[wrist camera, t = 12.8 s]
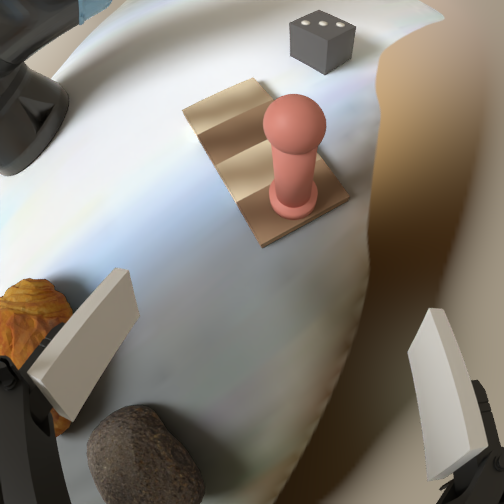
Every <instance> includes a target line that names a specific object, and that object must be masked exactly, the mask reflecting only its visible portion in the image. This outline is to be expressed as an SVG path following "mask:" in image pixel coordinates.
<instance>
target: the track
mask: <svg viewBox="0 0 504 504" xmlns="http://www.w3.org/2000/svg"><path fill="white" fill-rule="evenodd" d="M273 101H274V100H273V98H272V97H271V96H270V95H269V94H268V93H267V92H266V91H265V90H264V88H263V87H262V86H261V85H260V84H259V83H258V82H257V81H256V80H255V79H254V78H251V79H248V80H246V81H244V82H241V83H239V84H236V85H234V86H232V87H230V88H227V89H225V90H223V91H221V92H218V93H216V94H214V95H212V96H210V97H208V98H206V99H204V100H201V101H199V102H197V103H195V104H193V105H191V106H189V107H187V108H185V109H183V110H182V111H183V113H184V116H185V117H186V119H187V121H188V122H189V124H190V126H191V127H192V129H193V131H194V133H195V134H196V136H197V138H198V139H199V141H200V143H201V144H202V146H203V148H204V150H205V151H206V153H207V155H208V156H209V158H210V160H211V161H212V163H213V165H214V167H215V168H216V170H217V172H218V173H219V175H220V177H221V179H222V180H223V182H224V184H225V185H226V187H227V189H228V191H229V192H230V194H231V196H232V197H233V199H234V201H235V203H236V204H237V206H238V208H239V210H240V211H241V213H242V215H243V216H244V218H245V220H246V222H247V223H248V225H249V227H250V229H251V230H252V232H253V234H254V236H255V237H256V239H257V241H258V242H259V244H260V246H261V248H263V247H265V246H267V245H269V244H270V243H272V242H274V241H276V240H278V239H280V238H281V237H283V236H285V235H287V234H289V233H290V232H292V231H294V230H296V229H298V228H300V227H301V226H303V225H305V224H307V223H309V222H310V221H312V220H314V219H316V218H318V217H319V216H321V215H323V214H325V213H327V212H329V211H330V210H332V209H334V208H336V207H338V206H339V205H341V204H343V203H345V202H347V201H348V199H349V197H350V196H349V194H348V193H347V192H346V190H345V189H344V187H343V186H342V185H341V183H340V182H339V180H338V179H337V178H336V176H335V175H334V174H333V172H332V171H331V170H330V168H329V167H328V166H327V164H326V163H325V162H324V160H323V159H322V158H321V156H320V155H319V154H318V153H317V156H316V163H315V170H314V177H313V181H314V182H315V184H316V186H317V191H318V195H317V201H316V205H315V208H314V210H313V211H312V212H311V213H310V214H309V215H308V216H307V217H305V218H303V219H299V220H288V219H284V218H282V217H280V216H279V215H278V214H276V212H275V211H274V210H273V208H272V206H271V203H270V197H269V188H270V185H271V183H272V181H273V180H274V168H273V158H272V148H271V143H270V142H269V141H268V139H267V137H266V135H265V133H264V129H263V119H264V114H265V112H266V110H267V108H268V107H269V105H270V104H271V103H272V102H273Z"/></svg>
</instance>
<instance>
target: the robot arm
mask: <svg viewBox="0 0 504 504" xmlns="http://www.w3.org/2000/svg"><path fill="white" fill-rule="evenodd" d="M111 2H112V0H0V174H2V175H4V176H11V175H14V174H16V173H18V172H20V171H21V170H23V169H24V168H26V167H27V166H28V165H29V164H30V163H31V162H33V161H34V160H35V159H36V158H37V157H38V155H39V154H40V153H41V152H42V151H43V150H44V149H45V147H46V146H47V145H48V144H49V142H50V141H51V139H52V138H53V137H54V135H55V134H56V132H57V130H58V129H59V127H60V125H61V123H62V121H63V119H64V117H65V115H66V112H67V109H68V104H69V98H68V94H67V93H66V91H65V90H64V89H63V88H62V87H61V85H60V84H58V83H57V82H55V81H53V80H51V79H49V78H47V77H46V76H43V75H42V74H39V73H37V72H35V71H33V70H31V69H30V68H29V67H28V66H27V65H26V64H25V63H24V61H25V60H26V59H28V58H29V57H30V56H32V55H33V54H34V53H36V52H37V51H38V50H40V49H41V48H43V47H44V46H45V45H47V44H48V43H50V42H51V41H53V40H54V39H56V38H57V37H59V36H61V35H62V34H64V33H65V32H67V31H69V30H70V29H72V28H73V27H75V26H77V25H78V24H79V25H82V24H83V23H84V21H86V20H87V19H89V18H91V17H92V16H94V15H96V14H98V13H99V12H101V11H103V10H104V9H105V8H107V7H108V6H109V5H110V4H111ZM139 316H140V314H139V311H138V307H137V303H136V299H135V295H134V291H133V286H132V282H131V278H130V273H129V270H125V269H120V268H115V269H114V270H113V271H112V272H111V273H110V274H109V275H108V276H107V277H106V278H105V279H104V280H103V281H102V283H101V284H100V285H99V286H98V287H97V288H96V289H95V290H94V291H93V292H92V294H91V295H90V296H89V297H88V298H87V299H86V300H85V302H84V303H83V304H82V305H81V306H80V307H79V308H78V310H77V311H76V312H75V313H74V314H73V315H72V317H71V318H70V319H69V320H68V321H67V322H66V323H63V322H61V323H60V324H58V325H57V326H55V327H54V328H52V329H51V330H50V332H49V333H48V334H47V335H46V336H45V339H43V340H42V341H41V343H40V345H38V346H37V347H36V349H35V350H34V351H33V352H32V354H31V355H30V356H29V358H28V359H27V360H26V361H25V363H24V364H23V365H22V367H21V368H20V369H19V370H18V369H17V368H16V366H15V365H14V363H13V362H12V360H11V359H10V358H9V357H8V356H6V355H0V504H71V501H70V498H69V494H68V491H67V487H66V483H65V479H64V475H63V471H62V467H61V462H60V457H59V452H58V447H57V442H56V436H55V430H54V423H53V417H52V414H51V412H50V411H51V409H52V408H54V409H55V410H56V411H57V413H58V414H59V415H61V416H62V417H64V418H66V419H68V420H70V421H72V422H74V420H75V418H76V416H77V415H78V413H79V411H80V410H81V408H82V406H83V405H84V403H85V401H86V400H87V398H88V396H89V395H90V393H91V391H92V390H93V388H94V386H95V385H96V383H97V381H98V380H99V378H100V377H101V375H102V373H103V372H104V370H105V369H106V367H107V365H108V364H109V362H110V361H111V359H112V358H113V356H114V354H115V353H116V351H117V350H118V348H119V347H120V345H121V344H122V342H123V341H124V339H125V338H126V336H127V334H128V333H129V331H130V330H131V328H132V327H133V325H134V324H135V322H136V321H137V319H138V318H139ZM407 353H408V357H409V361H410V365H411V371H412V375H413V380H414V385H415V390H416V396H417V401H418V407H419V413H420V419H421V426H422V433H423V441H424V449H425V459H426V469H427V481H433V480H439V479H444V478H446V477H447V476H449V475H450V474H452V473H453V475H454V479H452V480H451V481H449V482H448V483H446V484H444V485H443V486H442V487H441V488H440V489H439V490H443V489H445V488H446V487H447V488H446V490H445V491H444V493H443V494H442V496H441V497H440V499H439V500H438V502H437V503H436V504H504V447H501V445H500V442H499V438H498V433H497V430H496V425H495V422H494V418H493V414H492V412H491V407H490V404H489V403H488V398H487V394H486V391H485V389H484V388H483V386H482V385H481V384H480V382H479V381H478V380H470V377H469V374H468V371H467V368H466V365H465V362H464V359H463V357H462V354H461V351H460V348H459V346H458V343H457V341H456V338H455V335H454V333H453V330H452V328H451V326H450V323H449V321H448V319H447V316H446V314H445V312H444V309H436V308H429V309H428V311H427V313H426V315H425V318H424V320H423V322H422V324H421V326H420V328H419V330H418V332H417V335H416V337H415V338H414V340H413V342H412V344H411V346H410V348H409V350H408V352H407Z"/></svg>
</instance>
